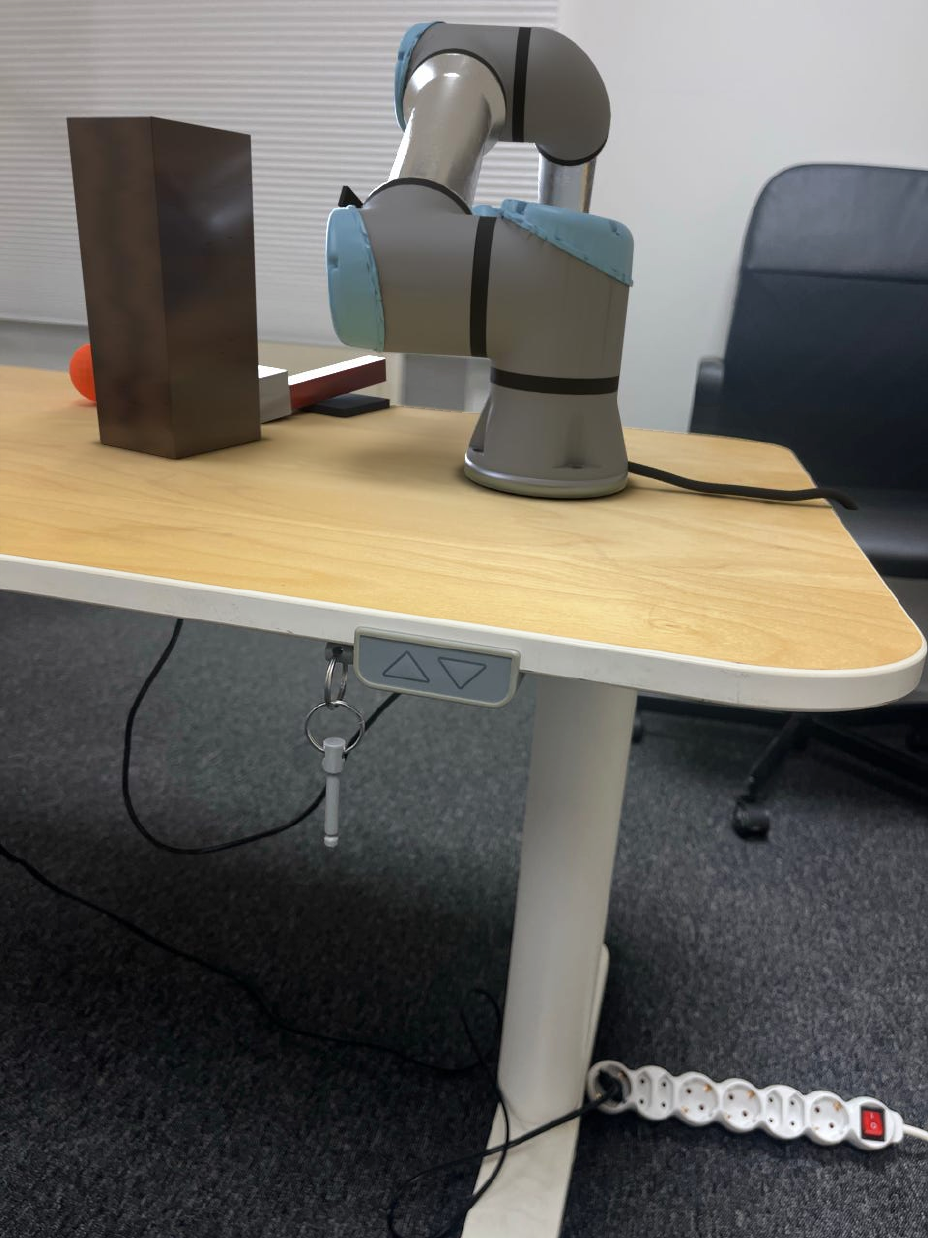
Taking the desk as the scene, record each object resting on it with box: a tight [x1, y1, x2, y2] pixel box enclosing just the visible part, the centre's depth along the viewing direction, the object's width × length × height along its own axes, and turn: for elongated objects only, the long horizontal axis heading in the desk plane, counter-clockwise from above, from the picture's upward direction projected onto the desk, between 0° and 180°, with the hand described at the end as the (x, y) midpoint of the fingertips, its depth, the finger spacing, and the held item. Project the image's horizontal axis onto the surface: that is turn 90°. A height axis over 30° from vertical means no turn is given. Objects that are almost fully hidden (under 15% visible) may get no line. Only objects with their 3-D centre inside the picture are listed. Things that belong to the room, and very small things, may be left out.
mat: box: [297, 392, 391, 418], centre depth 114 cm, size 18×10×1 cm, turn 61°
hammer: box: [259, 355, 387, 424], centre depth 108 cm, size 5×24×5 cm, turn 146°
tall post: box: [65, 115, 262, 460], centre depth 84 cm, size 10×12×28 cm
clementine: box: [68, 342, 96, 403], centre depth 104 cm, size 8×7×7 cm
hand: (386, 196), depth 114 cm, fingers open, 13 cm apart
